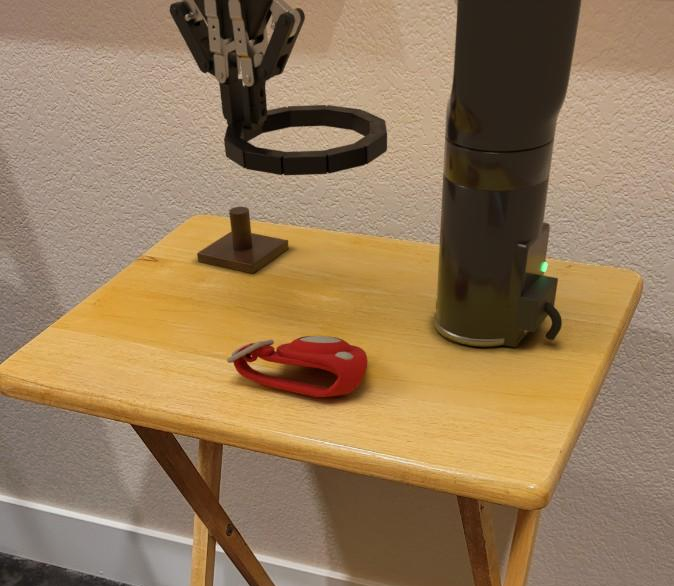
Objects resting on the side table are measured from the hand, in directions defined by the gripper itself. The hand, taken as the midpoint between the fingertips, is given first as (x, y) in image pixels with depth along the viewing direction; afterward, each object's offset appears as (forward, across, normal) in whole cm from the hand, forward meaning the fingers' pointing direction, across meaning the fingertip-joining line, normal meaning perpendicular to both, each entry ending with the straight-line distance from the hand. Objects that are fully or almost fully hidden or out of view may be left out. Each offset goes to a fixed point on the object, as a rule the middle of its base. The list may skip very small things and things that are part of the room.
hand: (246, 125), depth 84 cm
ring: (+1, +7, 0) cm, 7 cm away
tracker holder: (+16, +14, -14) cm, 25 cm away
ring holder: (+16, -6, +6) cm, 18 cm away
